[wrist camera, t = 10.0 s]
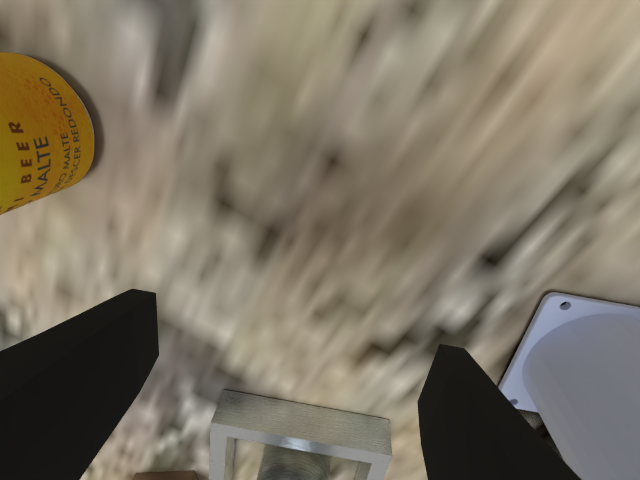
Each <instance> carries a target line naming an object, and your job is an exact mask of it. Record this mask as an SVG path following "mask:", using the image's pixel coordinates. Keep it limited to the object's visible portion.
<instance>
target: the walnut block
mask: <svg viewBox="0 0 640 480" xmlns="http://www.w3.org/2000/svg"><path fill="white" fill-rule="evenodd" d="M133 480H199V479H198V477H197V475H196V473H195V471H194V470H192V471H170V472H147V473H136V474H135V476H134V478H133Z"/></svg>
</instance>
